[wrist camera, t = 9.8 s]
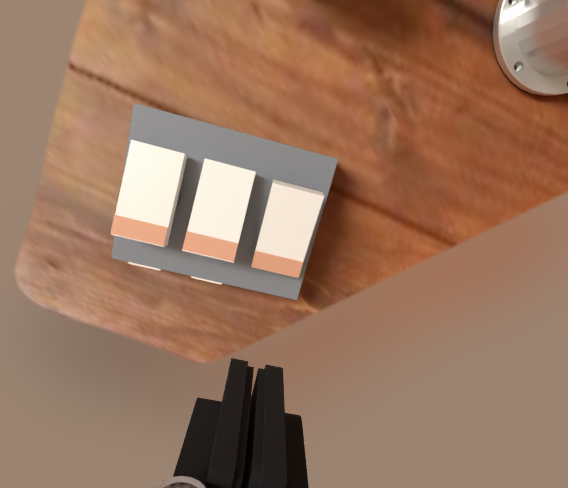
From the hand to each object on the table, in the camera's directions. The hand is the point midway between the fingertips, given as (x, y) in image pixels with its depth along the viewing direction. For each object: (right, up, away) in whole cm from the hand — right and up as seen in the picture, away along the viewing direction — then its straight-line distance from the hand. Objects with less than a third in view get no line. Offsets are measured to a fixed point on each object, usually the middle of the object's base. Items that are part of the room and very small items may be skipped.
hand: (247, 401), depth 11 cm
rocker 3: (+1, +6, +21) cm, 21 cm away
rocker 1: (-10, +9, +19) cm, 24 cm away
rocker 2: (-4, +8, +20) cm, 22 cm away
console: (-5, +9, +25) cm, 27 cm away
